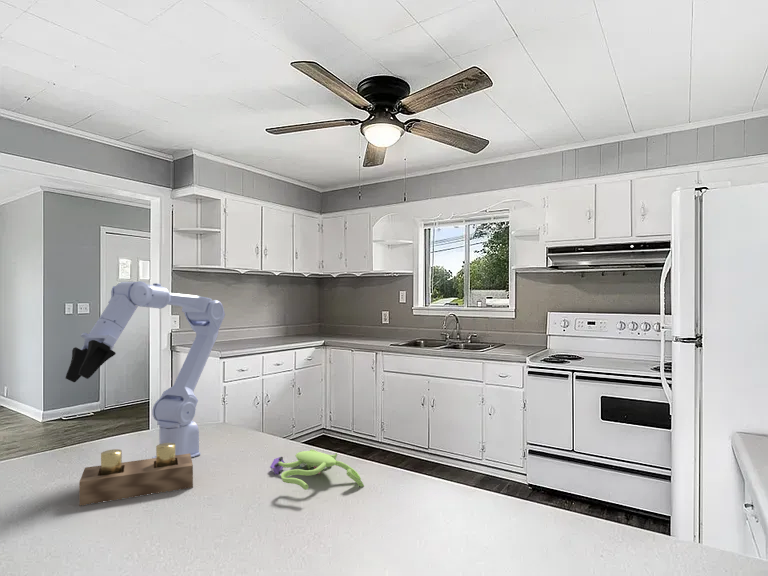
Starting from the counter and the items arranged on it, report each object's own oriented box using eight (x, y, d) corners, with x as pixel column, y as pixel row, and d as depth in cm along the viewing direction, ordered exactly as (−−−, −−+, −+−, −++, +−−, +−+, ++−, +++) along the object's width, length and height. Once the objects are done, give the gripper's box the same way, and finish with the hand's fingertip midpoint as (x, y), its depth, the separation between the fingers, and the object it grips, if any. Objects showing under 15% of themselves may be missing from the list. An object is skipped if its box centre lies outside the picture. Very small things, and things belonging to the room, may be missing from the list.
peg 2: (174, 463, 115) (174, 441, 115) (175, 468, 112) (175, 446, 112) (156, 465, 114) (156, 444, 114) (156, 471, 110) (156, 449, 110)
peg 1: (122, 470, 111) (122, 448, 111) (121, 476, 107) (121, 453, 107) (101, 473, 109) (101, 450, 109) (100, 479, 105) (100, 456, 105)
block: (190, 473, 119) (190, 453, 119) (192, 487, 111) (192, 465, 111) (85, 489, 110) (85, 467, 110) (79, 505, 102) (79, 481, 102)
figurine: (286, 508, 101) (286, 481, 101) (263, 465, 126) (263, 444, 126) (369, 493, 109) (369, 468, 109) (332, 455, 133) (332, 435, 133)
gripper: (82, 321, 115) (46, 373, 108) (107, 310, 106) (70, 365, 99) (109, 336, 119) (77, 387, 112) (136, 326, 110) (103, 381, 103)
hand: (76, 378), depth 105 cm, fingers open, 7 cm apart
